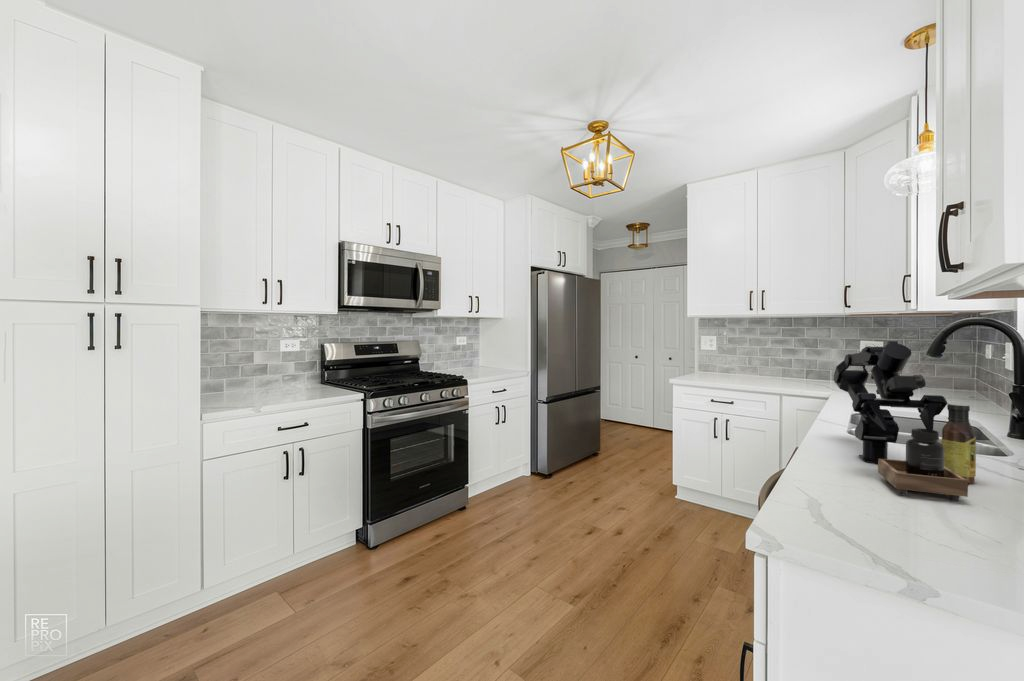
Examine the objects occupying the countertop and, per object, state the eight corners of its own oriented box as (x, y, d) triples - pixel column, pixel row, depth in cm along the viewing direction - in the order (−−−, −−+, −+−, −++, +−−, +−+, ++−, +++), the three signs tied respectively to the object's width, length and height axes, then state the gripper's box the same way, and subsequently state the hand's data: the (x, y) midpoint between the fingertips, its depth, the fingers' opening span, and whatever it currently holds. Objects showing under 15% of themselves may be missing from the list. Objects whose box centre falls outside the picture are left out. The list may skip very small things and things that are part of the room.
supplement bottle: (899, 473, 110) (900, 426, 110) (933, 475, 108) (933, 427, 108) (915, 482, 104) (915, 432, 103) (951, 485, 102) (951, 434, 101)
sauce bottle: (978, 486, 109) (979, 407, 108) (943, 481, 112) (944, 405, 112) (972, 478, 114) (973, 403, 113) (938, 474, 118) (940, 401, 117)
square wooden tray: (878, 478, 115) (878, 458, 115) (941, 485, 109) (941, 464, 109) (896, 496, 103) (896, 473, 103) (967, 504, 98) (967, 480, 98)
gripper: (856, 363, 119) (873, 411, 109) (944, 364, 112) (970, 415, 102) (845, 388, 126) (860, 434, 116) (926, 390, 120) (949, 440, 110)
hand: (908, 430), depth 111 cm, fingers open, 9 cm apart
